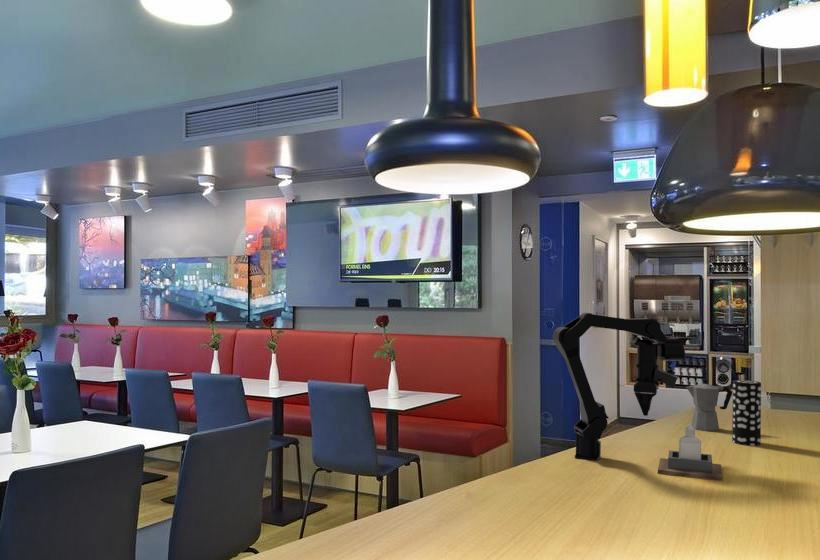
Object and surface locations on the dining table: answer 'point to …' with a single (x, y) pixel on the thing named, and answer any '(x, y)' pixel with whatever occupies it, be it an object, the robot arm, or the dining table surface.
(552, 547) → the dining table surface
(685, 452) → the eye dropper bottle
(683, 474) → the socket board
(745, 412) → the white-spotted black cylinder
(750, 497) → the dining table surface
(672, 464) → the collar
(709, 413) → the coffeepot
